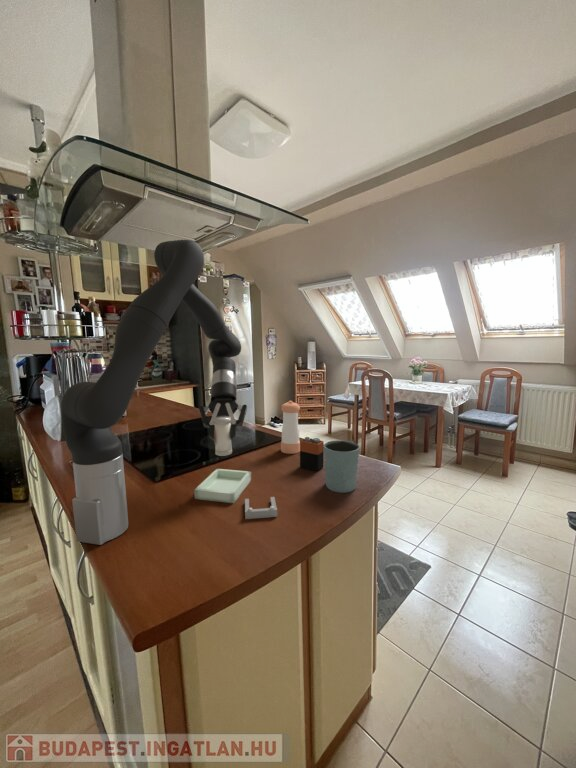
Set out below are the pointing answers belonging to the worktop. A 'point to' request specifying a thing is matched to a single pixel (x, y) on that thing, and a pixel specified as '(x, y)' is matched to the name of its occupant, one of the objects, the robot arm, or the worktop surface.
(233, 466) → the worktop surface
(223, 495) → the tray
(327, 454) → the teal cup
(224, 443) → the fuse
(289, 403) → the salt shaker
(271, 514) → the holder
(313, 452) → the battery
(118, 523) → the robot arm
